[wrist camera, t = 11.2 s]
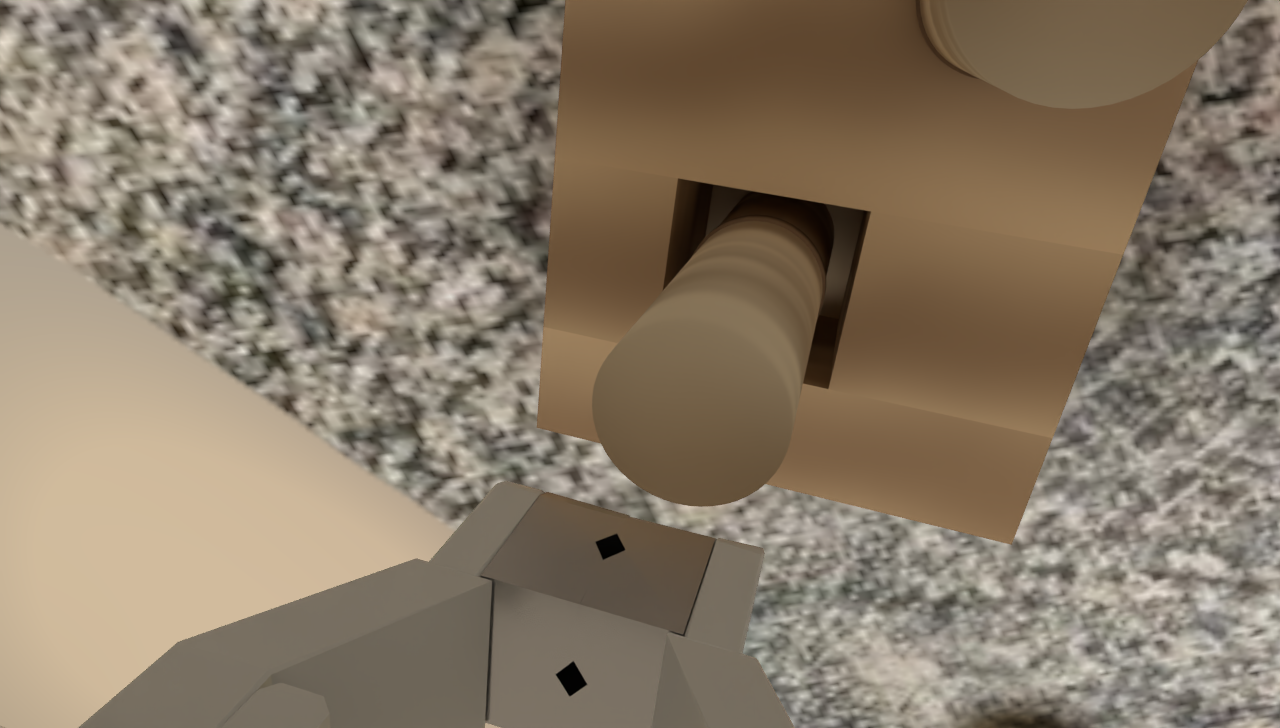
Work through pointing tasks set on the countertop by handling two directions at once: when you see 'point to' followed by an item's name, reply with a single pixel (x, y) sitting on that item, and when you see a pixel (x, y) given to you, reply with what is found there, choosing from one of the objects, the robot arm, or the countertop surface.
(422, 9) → the countertop surface
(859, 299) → the wooden peg hole block
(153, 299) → the countertop surface
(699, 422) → the peg
